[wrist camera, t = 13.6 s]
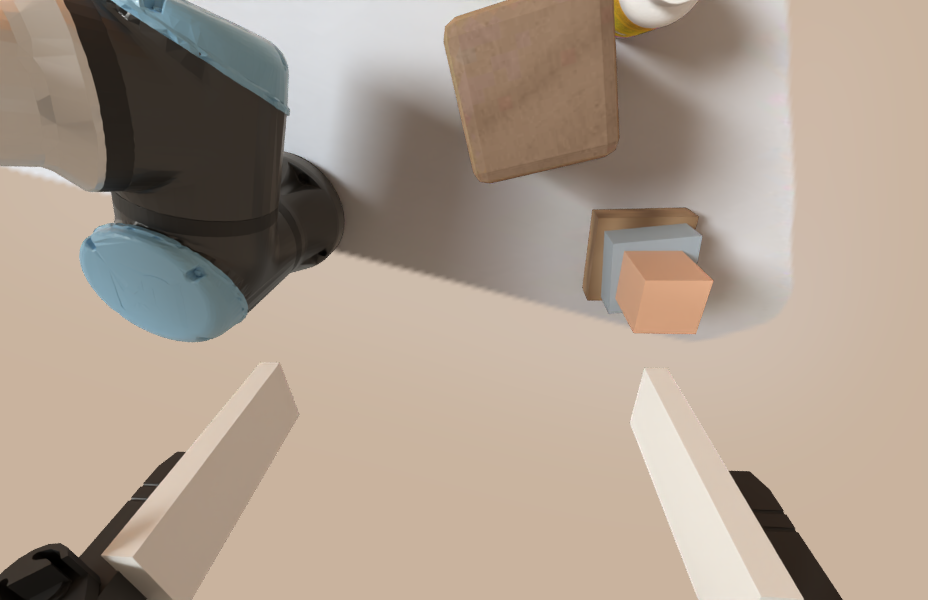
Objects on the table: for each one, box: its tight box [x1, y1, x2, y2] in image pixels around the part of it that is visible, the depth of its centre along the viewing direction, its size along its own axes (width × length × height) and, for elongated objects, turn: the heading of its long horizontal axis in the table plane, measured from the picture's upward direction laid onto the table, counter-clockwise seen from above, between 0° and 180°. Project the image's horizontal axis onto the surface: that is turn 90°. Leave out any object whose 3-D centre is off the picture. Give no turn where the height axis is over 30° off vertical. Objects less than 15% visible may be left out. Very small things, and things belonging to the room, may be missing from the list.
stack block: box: [615, 251, 713, 334], centre depth 39 cm, size 6×6×7 cm
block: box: [444, 0, 619, 183], centre depth 32 cm, size 10×10×20 cm
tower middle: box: [601, 223, 702, 314], centre depth 44 cm, size 9×9×4 cm
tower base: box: [582, 208, 699, 300], centre depth 47 cm, size 11×11×4 cm
